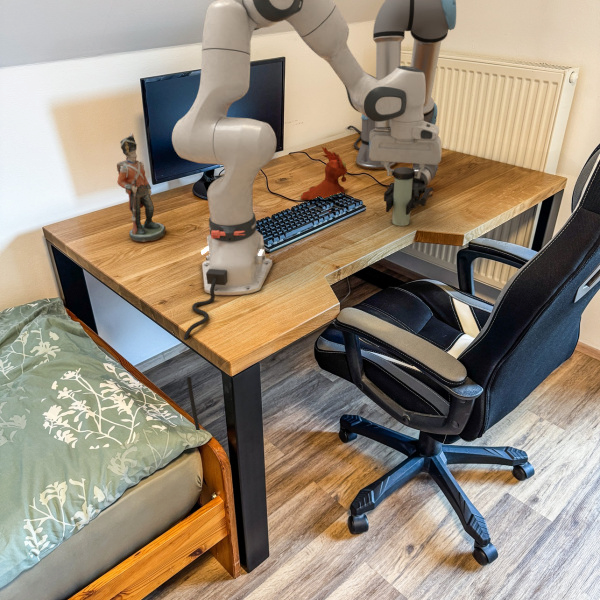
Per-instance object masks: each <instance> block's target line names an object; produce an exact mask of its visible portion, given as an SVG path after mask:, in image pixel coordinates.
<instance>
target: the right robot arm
mask: <svg viewBox="0 0 600 600" xmlns="http://www.w3.org/2000/svg"><path fill="white" fill-rule="evenodd" d="M456 25H457V0H384V2H383V3H382V5H381V6H380V8H379V10H378V11H377V14H376V17H375V20H374V24H373V30H372V40H373V41H374V43H375V46H376V48H375V49H376V50H375V51H376V52H375V54H376V55H375V78H377V79H378V80H381V79H383V78H385V77H386V76H388V75H389V74H391V73H392V72H393V71H394V70H395V69H396V68H397V67H399V66H401V63H402V62H401V58H402V54H401V53H402V42H403V41H404V40H405V32H410V36H411V38H413V44H412V45H413V47H412V53H411V59H410V60H411V61H410V67H414V68H417V69H420V70H421V71H422V72H423V73H424V75H425V84H426V90H425V103H424V106H423V115H424V120H423V121H425V122H428V123H431V124H433V125H436V124H437V123H436V122H437V117H438V105H437V103H436V102H435V101H434V98H433V97H432V94H433V89H434V85H435V79H436V78H435V77H436V73H437V72H436V71H437V67H438V61H439V56H440V50H441V45H442V42H443V41H444V40H445V39H446V38H447V37H448V33H449V31H452V30H454V29H455V28H456ZM360 117H361V118H360V119H361V129H360V130H359V129H358V127H356V126H354V125H349V126H347V130H349V129H353V130H355V131H356V132H357V133H359V137H358V138H357V139H356V140H355V142H354V143H353V147H354V149H356V150H358V153H357V155H356V158H355V165H356V166H357V167H358V168H360V169H362V170H363V169H364V170H370V171H383V170H386V168H385V166H384V161H372V160H371V159H370V158H369V152H370V145H371V142H370V140H369V134H370V131H371V130H372V129H375V128H376V127H379V128H391V119H390V120H386V121H381V122H376V121H373V120H370V119H369V118H367V117H366V116H364V115H363V114H362V113H361V116H360ZM374 131H375V130H374ZM359 141H360V146H359V147H358V146H357V144H358V143H359ZM396 165H397V162H390V163H389V166H390V168H391V169H393V168H394V167H395V166H396ZM411 168H412V169H414V170H415V171H419V169H420V168H421V167H419V164H415V163H412V167H411ZM437 172H438V165H430V164H425V167H424V169H423V170H422V171H421V174H420V179H417V178H414V177H415V176H414V177H413V180H412V194H411V200H410V201H409V203H408V204H407V206H406V215H409V213H410V214H411V211H412V210H416V209H417V207H419V206H421V207H425V206H426V204H427V202H428V201H429V199H430V198H431V197H433V193H434V187H432V186H430V187H429V185H430V183H431V182H432V181H433V180H434V178H435V176H436V175H437ZM393 198H394V182H391V183H390V186H389V187H388V188H387V189H386V190H385V192H384V193H383V202H385V213H389V212H390V211H391V210H392V209H393Z"/></svg>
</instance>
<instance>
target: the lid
mask: <svg viewBox="0 0 600 600" xmlns="http://www.w3.org/2000/svg"><path fill="white" fill-rule="evenodd" d="M412 168H413V167H410V166H409V167H408V166H407V167H406V166H399V167H395V168H394V169H393V176H392V177H393V178H394V179H395V178H397V179H411V178H413V177H414V176H415V170H414V169H412Z"/></svg>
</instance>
